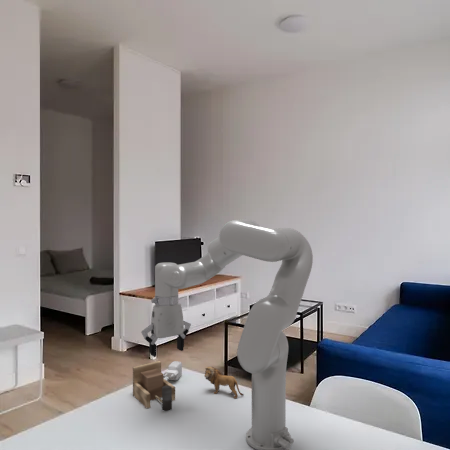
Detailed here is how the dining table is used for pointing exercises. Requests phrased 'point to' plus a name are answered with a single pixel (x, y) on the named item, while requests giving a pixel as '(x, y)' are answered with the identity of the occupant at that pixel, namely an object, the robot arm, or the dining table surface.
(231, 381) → the lion figurine
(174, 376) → the power adapter
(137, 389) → the wooden stand
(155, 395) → the wooden lever toy
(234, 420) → the dining table surface
